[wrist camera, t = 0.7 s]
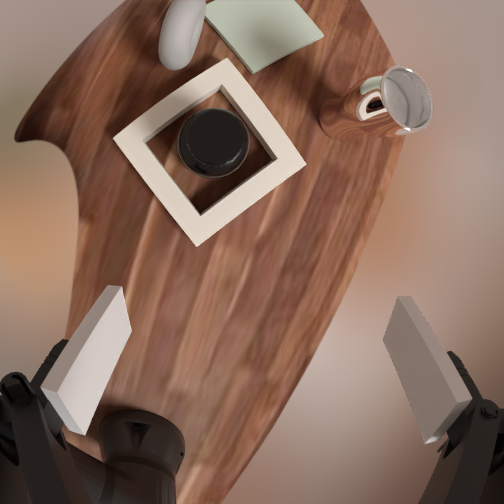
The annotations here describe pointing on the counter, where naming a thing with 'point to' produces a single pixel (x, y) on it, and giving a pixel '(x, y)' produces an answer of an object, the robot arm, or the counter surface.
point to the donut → (181, 32)
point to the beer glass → (379, 106)
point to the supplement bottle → (213, 142)
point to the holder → (244, 193)
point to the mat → (261, 29)
